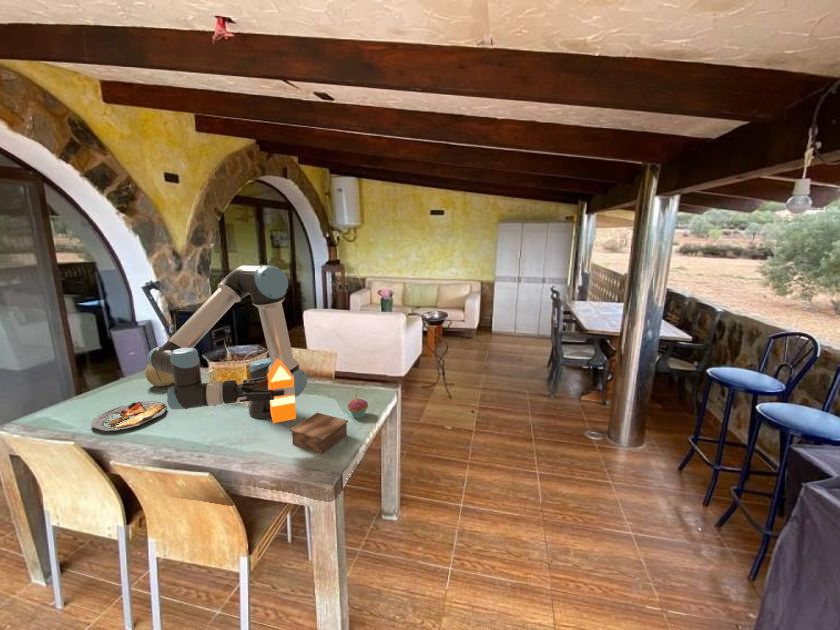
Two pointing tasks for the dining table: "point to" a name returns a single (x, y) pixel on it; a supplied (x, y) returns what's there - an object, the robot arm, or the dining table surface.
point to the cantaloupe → (158, 377)
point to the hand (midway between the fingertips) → (294, 384)
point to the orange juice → (281, 405)
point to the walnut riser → (319, 432)
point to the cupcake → (357, 407)
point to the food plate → (138, 410)
